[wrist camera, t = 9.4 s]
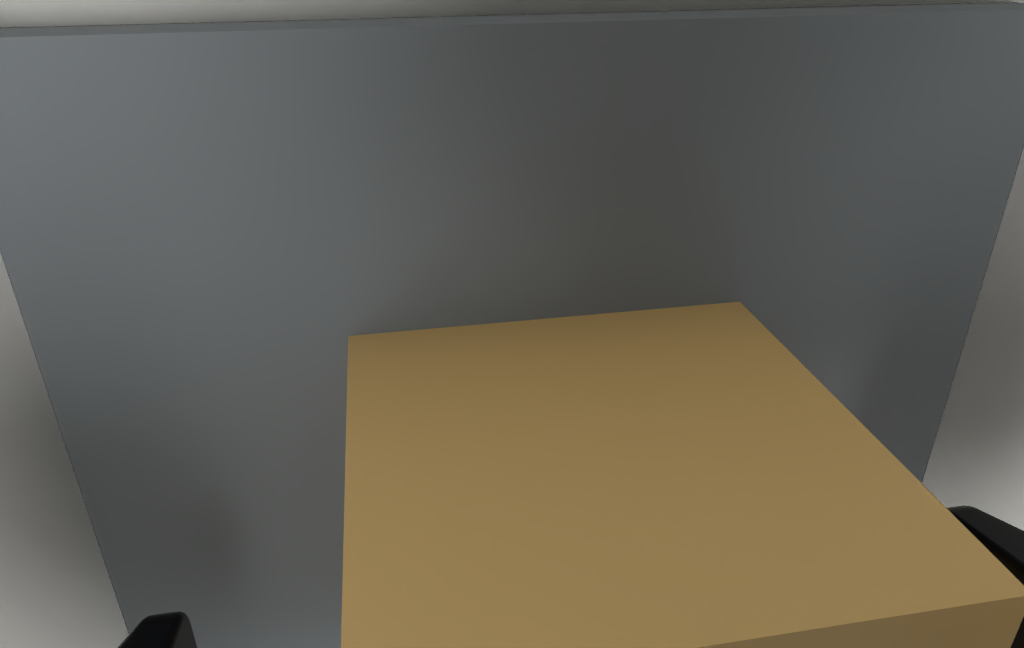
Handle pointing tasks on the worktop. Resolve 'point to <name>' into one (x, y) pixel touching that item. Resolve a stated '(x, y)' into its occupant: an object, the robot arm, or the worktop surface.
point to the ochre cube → (638, 497)
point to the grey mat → (464, 237)
